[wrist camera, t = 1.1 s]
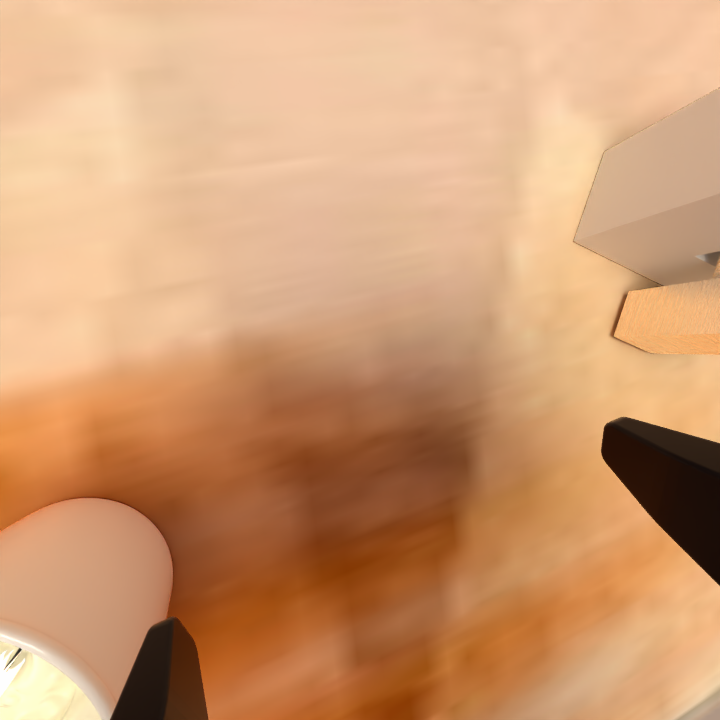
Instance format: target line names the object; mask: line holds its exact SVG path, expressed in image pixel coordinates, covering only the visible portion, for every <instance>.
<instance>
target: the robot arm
mask: <svg viewBox="0 0 720 720" xmlns="http://www.w3.org/2000/svg"><path fill="white" fill-rule="evenodd" d="M601 453H602V457H603V459H604V461H605V462H606V464H607V465H608V466H609V467H610V468H611V470H612V471H613V472H614V473H615V474H616V476H617V477H618V478H619V479H620V480H621V482H622V483H623V484H624V485H625V486H626V488H627V489H628V490H629V491H630V492H631V493H632V495H633V496H634V497H635V498H636V499H637V501H638V502H639V503H640V504H641V505H642V507H643V508H644V509H645V510H646V511H647V513H648V514H649V515H650V516H651V517H652V518H653V519H654V520H655V522H656V523H657V524H658V525H659V526H660V527H661V528H662V529H663V530H664V531H665V532H666V533H667V534H668V535H669V536H670V537H671V538H672V539H673V540H674V541H675V542H676V543H677V544H678V545H679V546H680V547H681V548H682V549H683V550H684V551H685V552H686V553H687V554H688V555H689V556H690V557H691V558H692V559H693V560H694V561H695V562H696V563H697V564H698V565H699V566H700V567H701V568H702V569H703V570H704V571H705V572H706V573H707V574H708V575H709V576H710V577H711V578H712V579H713V580H714V581H715V582H716V583H717V584H718V585H719V586H720V443H717V442H713V441H710V440H706V439H703V438H699V437H695V436H692V435H688V434H685V433H681V432H678V431H674V430H671V429H667V428H664V427H660V426H656V425H653V424H649V423H646V422H642V421H639V420H635V419H632V418H628V417H620V418H618V419H615V420H613V421H611V422H609V423H607V424H606V425H605V427H604V431H603V439H602V447H601ZM110 720H208V714H207V708H206V702H205V696H204V689H203V683H202V677H201V671H200V665H199V658H198V652H197V648H196V645H195V642H194V640H193V638H192V637H191V635H190V634H189V633H188V631H187V630H186V629H185V627H184V626H183V625H182V623H181V622H180V621H179V619H178V618H177V617H174V616H172V617H169V618H167V619H165V620H162V621H160V622H158V623H156V624H154V625H152V626H151V627H150V628H149V630H148V632H147V634H146V636H145V638H144V641H143V643H142V645H141V648H140V650H139V653H138V655H137V657H136V660H135V662H134V664H133V667H132V669H131V671H130V674H129V676H128V678H127V681H126V683H125V685H124V688H123V690H122V692H121V695H120V697H119V699H118V702H117V704H116V706H115V709H114V711H113V713H112V716H111V718H110Z"/></svg>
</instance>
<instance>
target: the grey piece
mask: <svg viewBox="0 0 720 720" xmlns="http://www.w3.org/2000/svg"><path fill="white" fill-rule="evenodd" d="M614 337H616V338H618V339H620V340H622V341H625V342H627V343H629V344H631V345H634V346H636V347H638V348H640V349H642V350H645V351H647V352H649V353H659V354H716V355H720V256H719V259H718V262H717V265H716V268H715V271H714V274H713V277H712V279H709V280H702V281H696V282H689V283H682V284H675V285H668V286H662V287H655V288H648V289H641V290H635V291H629V292H628V295H627V298H626V301H625V304H624V307H623V310H622V313H621V316H620V319H619V322H618V325H617V328H616V331H615V334H614Z"/></svg>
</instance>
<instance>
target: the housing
mask: <svg viewBox="0 0 720 720" xmlns="http://www.w3.org/2000/svg"><path fill="white" fill-rule="evenodd" d="M573 242H575V243H578V244H580V245H582V246H584V247H586V248H588V249H590V250H592V251H594V252H596V253H598V254H600V255H602V256H604V257H606V258H608V259H610V260H612V261H614V262H616V263H618V264H620V265H622V266H624V267H626V268H628V269H630V270H632V271H634V272H636V273H638V274H640V275H642V276H644V277H646V278H648V279H650V280H652V281H654V282H656V283H658V284H660V285H662V286H668V285H675V284H682V283H689V282H696V281H702V280H709V279H712V277H713V274H714V271H715V268H716V265H717V262H718V259H719V256H720V87H719V88H718V89H716V90H714V91H712V92H710V93H709V94H707V95H705V96H703V97H701V98H700V99H698V100H696V101H694V102H692V103H691V104H689V105H687V106H685V107H684V108H682V109H680V110H678V111H676V112H675V113H673V114H671V115H669V116H667V117H666V118H664V119H662V120H660V121H658V122H657V123H655V124H653V125H651V126H649V127H648V128H646V129H644V130H642V131H640V132H639V133H637V134H635V135H633V136H631V137H630V138H628V139H626V140H624V141H622V142H621V143H619V144H617V145H615V146H614V147H612V148H610V149H608V150H606V151H605V152H604V154H603V157H602V160H601V163H600V166H599V169H598V172H597V174H596V177H595V180H594V183H593V186H592V189H591V192H590V195H589V198H588V200H587V203H586V206H585V209H584V212H583V215H582V218H581V221H580V224H579V227H578V229H577V232H576V235H575V238H574V241H573Z"/></svg>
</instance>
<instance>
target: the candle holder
mask: <svg viewBox="0 0 720 720" xmlns="http://www.w3.org/2000/svg"><path fill="white" fill-rule="evenodd" d="M172 585H173V564H172V558H171V554H170V551H169V548H168V546H167V543H166V541H165V539H164V537H163V536H162V534H161V533H160V531H159V530H158V529H157V527H156V526H155V525H154V524H153V523H152V522H151V521H150V520H149V519H148V518H147V517H145V516H144V515H143V514H141V513H140V512H138V511H137V510H135V509H133V508H131V507H129V506H127V505H125V504H122V503H119V502H116V501H112V500H108V499H101V498H76V499H69V500H65V501H61V502H57V503H54V504H51V505H48V506H46V507H43V508H41V509H39V510H37V511H35V512H33V513H31V514H29V515H27V516H25V517H24V518H22V519H20V520H18V521H17V522H15V523H13V524H11V525H10V526H8V527H6V528H5V529H3V530H1V531H0V720H110V718H111V716H112V713H113V711H114V709H115V706H116V704H117V702H118V699H119V697H120V695H121V692H122V690H123V688H124V685H125V683H126V681H127V678H128V676H129V674H130V671H131V669H132V667H133V664H134V662H135V660H136V657H137V655H138V653H139V650H140V648H141V645H142V643H143V641H144V638H145V636H146V634H147V632H148V630H149V628H150V627H151V626H152V625H154V624H156V623H158V622H160V621H162V620H165V619H166V618H167V613H168V609H169V604H170V598H171V593H172Z"/></svg>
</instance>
